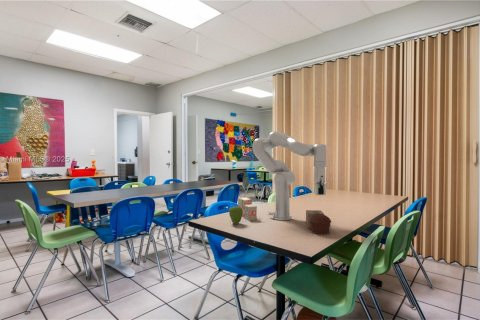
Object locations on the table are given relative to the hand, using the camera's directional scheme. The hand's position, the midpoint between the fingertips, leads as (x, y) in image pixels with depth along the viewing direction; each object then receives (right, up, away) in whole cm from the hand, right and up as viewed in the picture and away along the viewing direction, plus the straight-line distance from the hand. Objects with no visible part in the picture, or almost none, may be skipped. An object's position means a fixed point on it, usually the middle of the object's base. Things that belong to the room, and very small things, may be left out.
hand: (319, 193), depth 167 cm
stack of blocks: (-45, -19, +22) cm, 54 cm away
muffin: (-5, -20, -17) cm, 27 cm away
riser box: (-5, -19, -5) cm, 21 cm away
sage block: (0, -1, 0) cm, 1 cm away
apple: (-52, -20, +4) cm, 56 cm away
